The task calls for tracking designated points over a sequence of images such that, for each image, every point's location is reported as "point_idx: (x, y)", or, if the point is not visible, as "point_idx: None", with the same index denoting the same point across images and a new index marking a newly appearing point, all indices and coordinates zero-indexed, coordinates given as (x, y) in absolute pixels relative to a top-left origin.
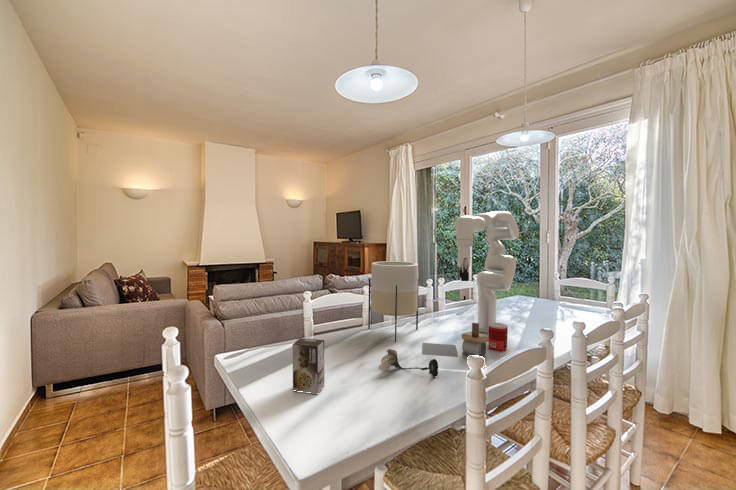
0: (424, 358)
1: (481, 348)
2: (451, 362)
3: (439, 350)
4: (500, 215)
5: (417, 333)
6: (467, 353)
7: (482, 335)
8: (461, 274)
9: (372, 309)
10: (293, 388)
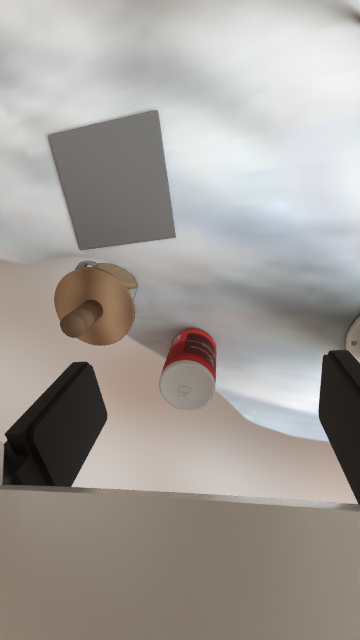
0: (35, 150)
1: None
2: (47, 233)
3: (104, 190)
4: None
5: (296, 47)
6: None
7: (111, 330)
8: (29, 408)
9: None
10: None
